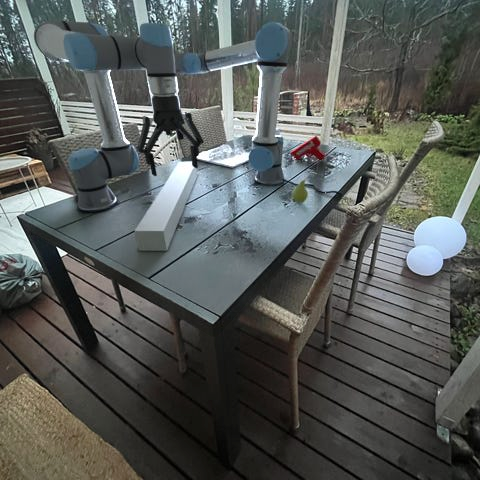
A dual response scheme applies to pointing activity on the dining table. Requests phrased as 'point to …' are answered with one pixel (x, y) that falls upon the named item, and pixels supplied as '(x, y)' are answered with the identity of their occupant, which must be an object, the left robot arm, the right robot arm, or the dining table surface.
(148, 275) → the dining table surface
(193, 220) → the dining table surface
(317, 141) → the toy gun
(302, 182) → the fruit
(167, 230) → the long white beam
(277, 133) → the ink box
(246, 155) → the relief map
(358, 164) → the dining table surface
